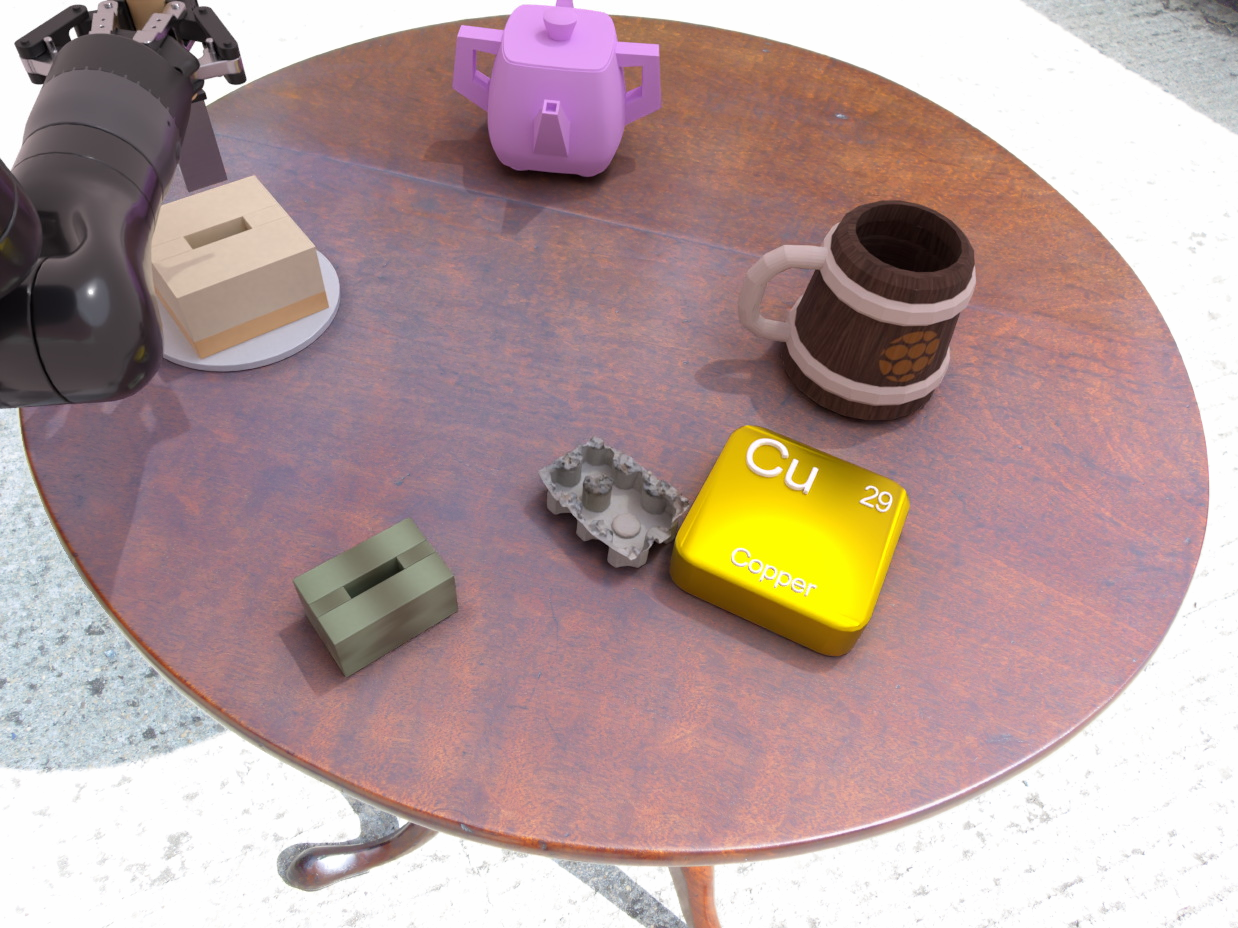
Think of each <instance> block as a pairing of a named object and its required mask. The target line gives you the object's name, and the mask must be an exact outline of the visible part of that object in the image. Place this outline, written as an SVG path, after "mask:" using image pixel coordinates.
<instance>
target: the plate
mask: <svg viewBox="0 0 1238 928" xmlns="http://www.w3.org/2000/svg"><path fill="white" fill-rule="evenodd" d="M316 251H317V255H318V260H319V264H320V269H321V273H322V278H323V282H324V287H325V291H326V295H327V300H328V304H329V308H326V309H324V310H321V311H319V312H316V313H314V314H312V315H309V316H307V317H304V318H302V319H299V320H297V321H294V322H292V323H289V324H287V325H284V326H282V327H280V328H277V329H275V330H272V331H270V332H267V333H265V334H262V335H260V336H257V337H255V338H252V339H250V340H248V341H245V342H243V343H240V344H238V345H235V346H233V347H230V348H228V349H225V350H223V351H221V352H218V353H216V354H213V355H211V356H208V357H206V358H203V359H200V358H199V356H198V355H197V353H196V352H195V350H194V349H193V347H192V346H191V344H190V343H189V341H188V340H187V339H186V337H185V336H184V334H183V333H182V331H181V330H180V328H179V327H178V325H177V324H176V323H175V321H174V320H173V318H172V317H171V315H170V314H169V312H168V311H167V309H166V308H165V306H164V305H163V304H162V302H161V301H160V299H159V298H158V296H157V295H156V293H155V295H156V299H157V303H158V307H159V311H160V316H161V320H162V325H163V334H164V344H165V346H164V355H163V359H165V360H167V361H169V362H171V363H173V364H176V365H179V366H181V367H183V368H184V367H185V368H190V369H193V370H197V371H198V370H199V371H206V372H222V373H223V372H224V373H225V372H239V371H246V370H252V369H253V370H254V369H257V368H261V367H264V366H265V367H266V366H268V365H272V364H275V363H277V362H280V361H283V360H285V359H288V358H290V357H292V356H294V355H295V354H297V353H299V352H301V351H303V350H305V349H306V348H308V347H309V346H310V345H311V344H313V343H314V342H315V341H316V340H318V339H319V338H320V337H321V336H322V335H323V334H324V333H325V332H326V330H327V329H328V328H329V327H330V325H331V324H332V322H333V321H334V319H335V318H336V317H337V313H338V311H339V308H340V304H341V299H342V298H341V295H342V291H341V284H340V279H339V276H338V274H337V271H336V269H335V267H334V266H333V264H332V262H331V261H330V260H329V259H328V258H327V257H326V256H325V255H324V254H323V253H322V252H321V251H319V250H318V249H317V248H316Z"/></svg>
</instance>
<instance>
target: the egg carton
mask: <svg viewBox="0 0 1238 928" xmlns="http://www.w3.org/2000/svg"><path fill="white" fill-rule="evenodd" d="M538 475H539V477H540V479H541V481H542V482H543V484H544V485H545V487H546V488H547V494H546V509H547V510H548V511H549V512H551V513H552V514H553V515H560V514H568V513H569V514H572V516H573V517H574V518H576V521H577V524H576V532H575V533H576V535H577V536H578V537H579V539H581V540H582V541H583V542H587V541H591V540H599V541H601V542H602V543H604V544H605V545H607V546H608V553H607V559H606V560H607V563H609V564H610V566H612V567H614V568H620V567H627V566H628V567H633V568H638V569H639V568H640V567H641V566H644V565H646V563H647V561H648V556H649V550H650V548H651V547H652V546H653V545H654V542H656V543H657V544H662V543H664V544H670V542H672V541H673V540H674V539H676V536H677V532H678V531H677V530H678V527H679V519H678V518H679V517H680V516H682V515H683V514H684V513H685V512H686V510H688V509H689V508H690V504H691V503H690V502H689V499H688V498H686V497H684V494H683V493H682V492H681V491H680V490H679V489H677V488H675V487H674V486H673V484H671V483H670V482H667V481H666V480H664V479H662V480H659V478H657V476H655V474H654V473H653V472H652V471H651V470H647V469H646V468H645V467H643V466H642V465H641V464H639V463H638V462H637V460H635V459H634V457H632V456H630V455H629V454H628V455H627V454H626V453H625V452H623V451H620V450H617V449H616V448H614V447H612V446H609V445H606V444H605V442H604V440H603V439H602V438H601V437H599V436H596V435H593V436H592V437H591V438H590V440H588V441H587V442H585V443H584V444H583V443H580V444H578V445H577V446H576V447H574V449H573V450H570V451H568V452H566V453H565V454H563V455H562V456H559V457H557V458H555V460H554V461H553V462H552V463H551V464H549V465H546V466H544V467H543V468H541V469H539V470H538Z"/></svg>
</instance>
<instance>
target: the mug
mask: <svg viewBox="0 0 1238 928" xmlns="http://www.w3.org/2000/svg"><path fill="white" fill-rule="evenodd" d="M975 262H976V260H975V250H974V247H973V246H972V244H971V242H970V240H969V238H968V236H967V234H965V233H964V232H963V230H962V229H961V228H960V227H958V225H956V223H955V222H953V220H952V219H950V218H949V217H947V216H946V215H944V214H942V213H940V212H939V211H937V210H935V209H933V208H931V207H928V206H925V205H922V204H920V203H916V202H911V201H906V200H899V199H896V200H895V199H894V200H893V199H887V200H883V199H881V200H878V201H873V202H870V203H869V202H868V203H864V204H859V205H858V206H856V207H854V208H853V209H851V210H850V211H848V212H846V213H845V214H844V215H843V217H842V219H841V220H840V221H839V222H837V223H836V224H833V225H832V227H831V229H830V230H829V231H828V232H827V234H826V236H825V237H824V239H822V242H821V243H820V245H819V246H818V245H805V244H803V245H801V244H783V245H781V246H779V247H777V248H774V249H773V250H770V251H769V252H765V253H764V254H763V255H762V256H761V257H760V258H759V259H758V260H757V261H756V262H754V264H753V265H752V266H751V267H750V268H749V269H748V270H747V271H746V273H745V277H744V280H743V283H742V286H741V289H740V293H739V296H738V298H737V299H738V300H737V313H738V321H739V324H740V325H741V326H742V327H744V328H745V329H746V330H748V331H749V332H750V333H751V334H753V335H754V336H755V337H756V338H759V339H762V340H767V341H773V342H781V348H780V357H781V360H782V363H783V366H784V369H785V373H786V374H787V375H788V377H789V378H790V379H791V381H792V382H793V383H794V384H795V386H796V387H797V389H798V390H799V391H801V392H802V393H804V395H806V396H807V397H808V398H809V399H811V400H812V401H813V402H815V403H816V404H818V405H819V406H820V407H823V408H825V409H827V410H830V411H831V412H834V413H835V414H839V415H840V416H843V417H848V418H849V417H850V418H853V419H859V420H863V421H888V420H895V419H896V420H897V419H899V418H902V417H904V416H908V415H911V414H915V413H916V412H917V411H918V410H920V409H921V408H922V407H923V406H925V405H926V404H927V403H928V402H929V401H930V400H931V398H932V396H933V394H934V392H935V390H936V388H938V387H939V386H940V385H941V384H942V382H943V380H944V377H945V375H946V373H947V371H948V370H949V366H950V361H951V350H950V349H951V348H950V347H951V346H950V345H951V341H952V338H953V335H954V333H955V331H956V327H957V325H958V321H959V318H960V315H961V312H962V311H964V310H965V309H966V308H967V307H968V305H969V303H970V301H971V299H972V297H973V295H974V292H975V288H976V284H977V277H976V276H977V274H976V266H975V265H976V263H975ZM789 269H799V270H810V271H811V270H813V273H812V276H811V278H810V280H809V282H808V283H807V286H806V289H805V291H804V292H803V294H801V295H800V296H799V297H798V299H797V300H796V302H795V303H794V304H793V306H792V308H791V309H790V311H789V312H788V314H787V316H786V317H785V321H781V320H779V321H778V320H773V319H769V318H765V317H764V316H763V315H762V314H761V313H760V312H761V309H760V308H761V304H762V300H763V298H764V295H765V291H766V289H767V285H768V283H769V282H770V281H772V280H773V279H774V278H775V277H776V276H777V275H778V274H780V273H783V272H785V271H787V270H789Z"/></svg>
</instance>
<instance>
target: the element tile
mask: <svg viewBox="0 0 1238 928" xmlns="http://www.w3.org/2000/svg"><path fill="white" fill-rule="evenodd" d="M910 508H911V501H910V496H909V494H908V492H907V491H906V489H905V488H904V487H903V486H902V485H901V484H899V483H898V482H896V480H893V479H891V478H889V477H887V476H884V475H882V474H880V473H877V472H875V471H872V470H870V469H867V468H865V467H862V466H860V465H857V464H855V463H852V462H850V461H847V460H845V459H843V458H840V457H838V456H835V455H832V454H830V453H828V452H825V451H823V450H820V449H818V448H815V447H814V446H811V445H808V444H807V443H804V442H800V441H799V440H796V439H793V438H791V437H789V436H786V435H784V434H782V433H779V432H777V431H774V430H772V429H769V428H766V427H763V426H760V425H755V424H746V425H741V426H739V427H738V428H736V429H735V430H733V431H732V433H731V434H730V435H729V437H728V438H727V441H726V443H725V444H724V446H723V448H722V450H721V452H720V454H719V455H718V457H717V459H716V461H715V463H714V464H713V466H712V468H711V470H710V472H709V473H708V476H707V477H706V479H705V481H704V483H703V485H702V487H701V489H700V490H699V492H698V494H697V496H696V498H695V500H694V501H693V503H692V505H691V507H690V508H689V510H688V512H687V514H686V516H685V518H684V520H683V522H682V523H681V525H680V526H679V528H678V531H676V536H675V538H674V539H675V540H674V544H673V547H672V553H671V556H670V559H669V560H670V561H669V575H670V578H671V580H672V582H673V583H674V584H675V585H676V586H677V587H678V588H679V589H680V590H682V591H684V592H685V593H687V594H689V595H691V596H693V597H696V598H697V599H700V600H701V601H705V602H707V603H709V604H711V605H713V606H716V607H717V608H719V609H722V610H724V611H727V612H728V613H731V614H733V615H735V616H737V617H739V618H741V619H743V620H746V621H748V622H750V623H753V624H755V625H757V626H759V627H762V628H764V629H766V630H768V631H770V632H772V633H774V634H777V635H779V636H781V637H783V638H785V639H788V640H790V641H792V642H794V643H797V644H798V645H801V646H802V647H805V648H807V649H810V650H811V651H814V652H816V653H818V654H821V655H825V656H827V657H828V656H830V657H840V656H842V655H846V654H848V653H849V652H850V651H852V649H854V648H855V646H856V644H857V643H858V641H859V639H860V637H861V636H862V634H863V633H864V631H865V629H866V627H867V626H868V624H869V623H870V621H871V619H872V617H873V615H874V611H875V608H876V606H877V603H878V600H879V597H880V594H881V592H882V588H883V586H884V583H885V581H886V577H887V574H888V571H889V569H890V567H891V562H892V560H893V558H894V554H895V551H896V548H897V546H898V543H899V540H900V537H901V534H902V532H903V528H904V526H905V523H906V520H907V517H908V515H909V511H910Z"/></svg>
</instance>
